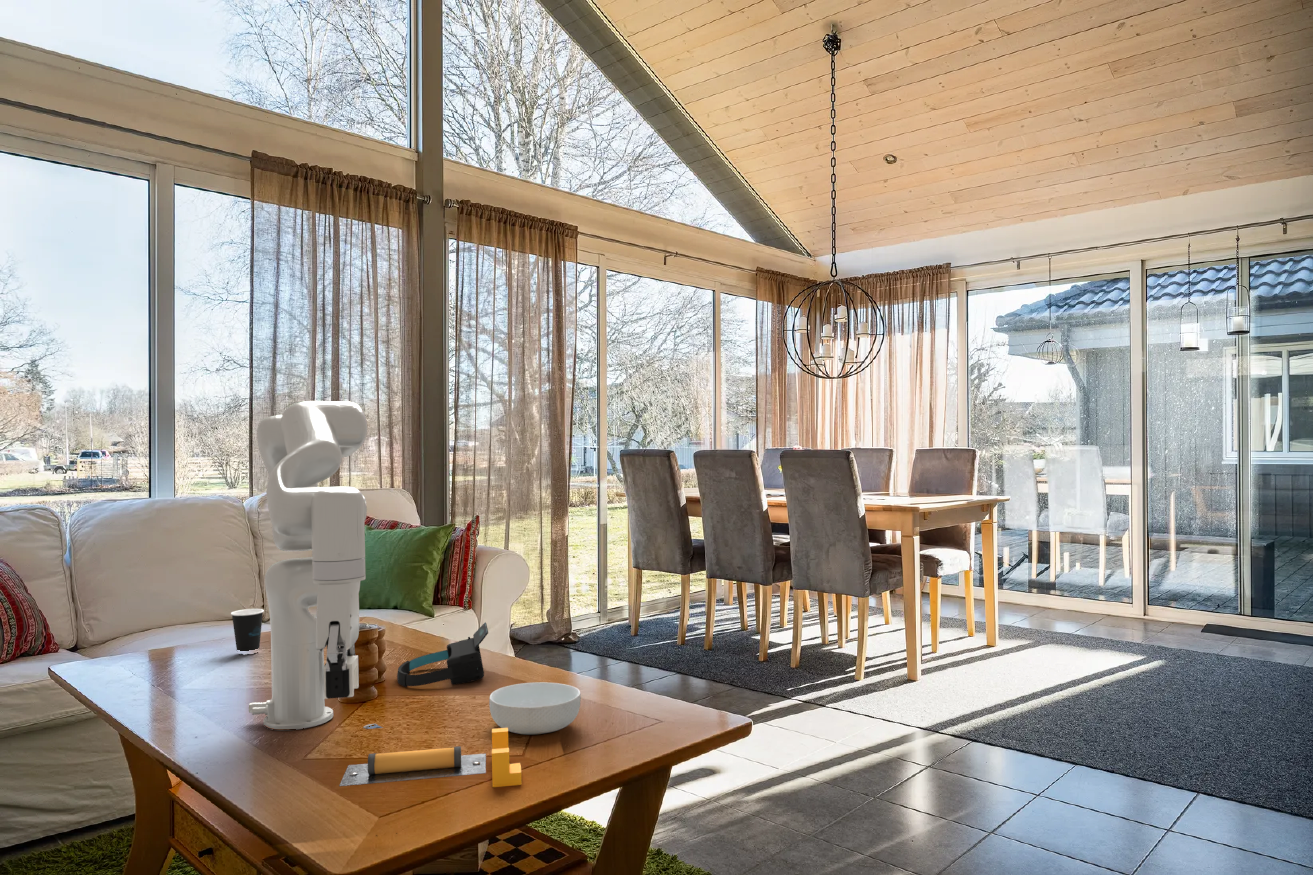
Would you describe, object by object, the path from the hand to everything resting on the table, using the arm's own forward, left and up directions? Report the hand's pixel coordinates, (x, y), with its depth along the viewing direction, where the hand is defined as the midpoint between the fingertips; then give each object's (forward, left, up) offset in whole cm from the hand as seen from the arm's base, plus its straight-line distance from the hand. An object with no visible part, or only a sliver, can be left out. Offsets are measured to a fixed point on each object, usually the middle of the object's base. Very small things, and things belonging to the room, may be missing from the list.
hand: (341, 690), depth 132 cm
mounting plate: (+10, +7, -16) cm, 21 cm away
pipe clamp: (+24, +2, -17) cm, 30 cm away
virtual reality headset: (+11, +70, -17) cm, 73 cm away
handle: (+10, +7, -15) cm, 19 cm away
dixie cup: (-41, +109, -17) cm, 118 cm away
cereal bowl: (+30, +25, -17) cm, 43 cm away
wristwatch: (+4, +28, -17) cm, 33 cm away
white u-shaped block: (0, 0, 0) cm, 0 cm away
